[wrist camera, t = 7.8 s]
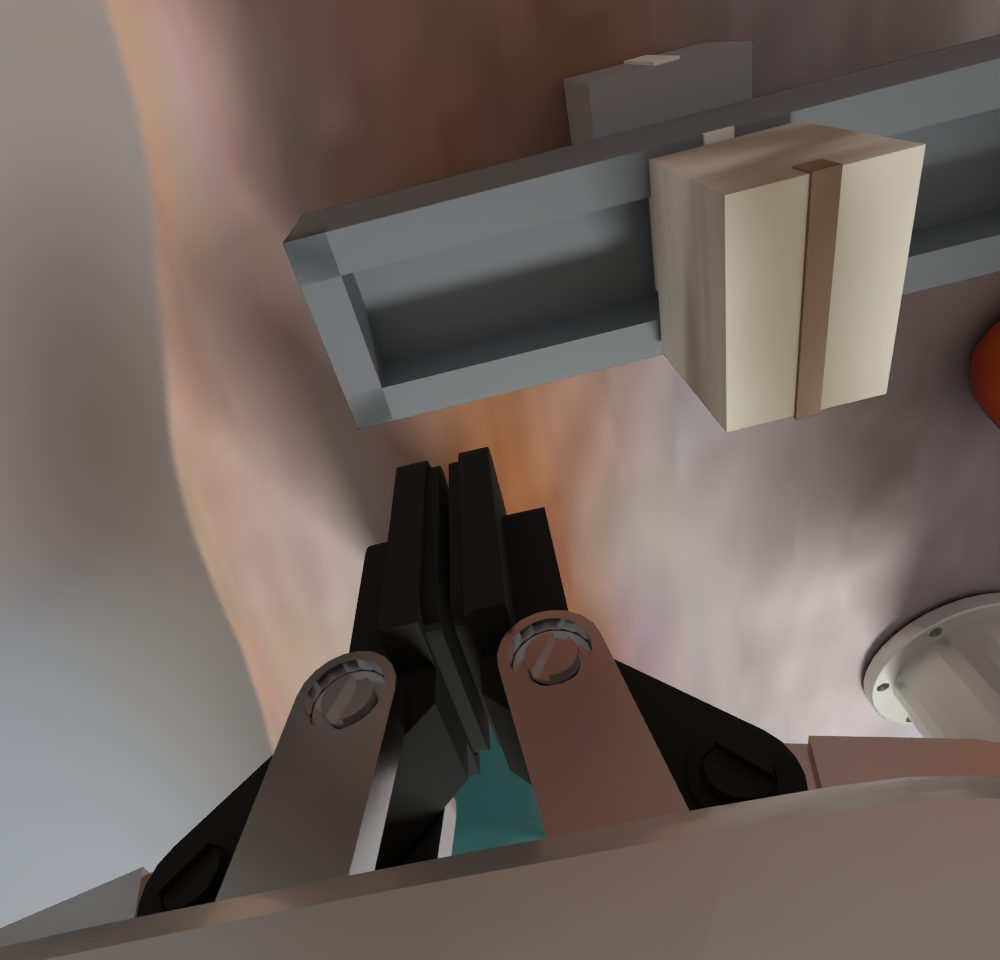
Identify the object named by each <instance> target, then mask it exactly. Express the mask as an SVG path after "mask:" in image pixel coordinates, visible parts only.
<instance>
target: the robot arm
mask: <svg viewBox="0 0 1000 960" xmlns="http://www.w3.org/2000/svg"><path fill="white" fill-rule="evenodd" d="M458 460H459V462H455V463H450V464H449V488H448V485H447V482H446V479H445V476H444V473H443V470H442V468H441V466H437V467H433V468H431V466H430V464H429V462H428V461H424V462H419V463H415V464H410V465H406V466H402V467H398V468H397V470H396V478H395V486H394V494H393V503H392V511H391V519H390V527H389V535H388V542H385V543H380V544H376V545H371V546H369V547H368V548H367V551H366V554H365V560H364V566H363V572H362V578H361V584H360V590H359V596H358V602H357V608H356V614H355V620H354V626H353V632H352V639H351V645H350V651H349V653H347V654H343V655H341V656H339V657H337V658H334V659H332V660H330V661H328V662H327V663H325V664H324V665H323V666H321V667H320V668H319V669H317V670H316V671H315V672H314V673H313V674H312V675H311V676H310V677H309V678H308V679H307V680H306V682H305V683H304V684H303V686H302V688H301V689H300V691H299V693H298V695H297V697H296V699H295V701H294V704H293V706H292V709H291V711H290V714H289V716H288V719H287V721H286V724H285V726H284V729H283V732H282V734H281V737H280V739H279V742H278V744H277V747H276V749H275V752H274V754H273V755H272V756H271V757H270V758H269V759H268V760H267V761H266V762H264V763H263V764H262V765H261V766H260V767H259V768H258V769H257V770H256V771H255V772H254V773H253V774H252V775H251V776H249V777H248V778H247V779H246V780H245V781H244V782H243V783H242V784H241V785H240V786H239V787H238V788H237V789H236V790H234V791H233V792H232V793H231V795H229V796H228V797H227V798H226V799H225V800H224V801H223V802H222V803H220V804H219V805H218V806H217V807H216V808H215V809H214V810H213V811H212V812H211V813H210V814H209V815H208V816H207V817H206V818H204V819H203V820H202V821H201V822H200V823H199V824H198V825H197V826H196V827H195V828H194V829H193V830H191V832H189V833H188V834H187V835H186V836H185V837H184V838H183V839H182V840H181V841H180V842H179V843H178V844H177V845H175V846H174V847H173V848H172V850H171V851H170V852H169V853H168V854H167V855H166V856H165V857H164V858H163V860H162V861H161V862H160V863H159V864H158V865H157V867H156V869H155V870H154V872H151V873H149V872H148V871H147V870H146V869H144V868H143V867H142V868H140V869H137V870H135V871H132V872H130V873H128V874H126V875H123V876H121V877H118V878H116V879H114V880H112V881H109V882H107V883H105V884H102V885H100V886H98V887H95V888H93V889H91V890H88V891H86V892H84V893H81V894H79V895H77V896H74V897H72V898H70V899H68V900H65V901H63V902H60V903H58V904H56V905H53V906H51V907H49V908H47V909H44V910H42V911H39V912H37V913H35V914H33V915H30V916H28V917H26V918H23V919H21V920H18V921H16V922H14V923H12V924H9V925H7V926H5V927H2V928H0V960H1000V593H990V594H981V595H976V596H972V597H968V598H963V599H960V600H957V601H955V602H952V603H949V604H946V605H943V606H941V607H939V608H937V609H935V610H933V611H930V612H928V613H926V614H925V615H923V616H921V617H919V618H918V619H916V620H914V621H913V622H911V623H909V624H908V625H907V626H905V627H904V628H903V629H901V630H900V631H899V632H897V633H896V634H895V635H894V636H893V637H892V638H891V639H889V640H888V641H887V642H886V643H885V644H884V645H883V646H882V647H881V649H880V650H879V651H878V652H877V654H876V655H875V656H874V658H873V659H872V661H871V663H870V665H869V667H868V668H867V671H866V674H865V678H864V693H865V695H866V697H867V700H868V701H869V702H870V704H871V705H872V706H873V708H874V709H875V711H876V712H877V713H878V714H879V715H881V716H882V717H883V718H885V719H888V720H890V721H893V722H896V723H901V724H907V725H914V726H915V727H916V728H917V730H918V731H919V733H920V734H921V735H922V737H923V738H899V737H847V736H809V740H808V744H789V743H783V742H782V741H780V740H778V739H777V738H775V737H774V736H772V735H771V734H769V733H767V732H766V731H764V730H762V729H760V728H758V727H756V726H754V725H752V724H750V723H748V722H745V721H743V720H741V719H739V718H737V717H735V716H733V715H731V714H729V713H727V712H724V711H722V710H720V709H718V708H716V707H714V706H712V705H710V704H708V703H705V702H703V701H701V700H699V699H697V698H695V697H693V696H691V695H689V694H687V693H684V692H682V691H680V690H678V689H676V688H674V687H672V686H670V685H668V684H665V683H663V682H661V681H659V680H657V679H655V678H653V677H651V676H649V675H646V674H644V673H642V672H640V671H638V670H636V669H634V668H632V667H630V666H628V665H625V664H623V663H621V662H619V661H617V660H615V659H613V657H612V655H611V653H610V651H609V649H608V647H607V645H606V643H605V641H604V639H603V637H602V635H601V633H600V631H599V630H598V629H597V628H596V626H595V625H594V624H593V622H591V621H590V620H588V619H587V618H585V617H584V616H582V615H580V614H577V613H573V612H570V611H568V608H567V603H566V599H565V595H564V590H563V586H562V582H561V577H560V573H559V569H558V564H557V560H556V556H555V551H554V547H553V543H552V538H551V534H550V530H549V525H548V521H547V517H546V512H545V508H544V507H542V508H537V509H533V510H528V511H524V512H519V513H515V514H510V515H507V513H506V510H505V506H504V502H503V498H502V495H501V491H500V487H499V483H498V480H497V476H496V472H495V468H494V465H493V461H492V457H491V454H490V450H489V448H488V447H485V448H480V449H476V450H472V451H467V452H463V453H459V455H458ZM489 722H490V725H491V727H492V730H493V733H494V735H495V738H496V741H497V743H498V746H499V747H500V748H502V750H503V752H504V755H505V758H506V761H507V763H508V766H509V769H510V771H512V772H513V773H514V774H516V775H517V776H519V777H520V778H522V779H523V780H525V781H526V782H527V783H529V784H530V785H532V787H533V790H534V794H535V797H536V801H537V804H538V808H539V811H540V815H541V818H542V822H543V825H544V829H545V832H546V836H547V838H543V839H537V840H532V841H527V842H521V843H516V844H511V845H505V846H500V847H495V848H490V849H485V850H479V851H474V852H469V853H464V854H459V855H453V856H451V854H452V846H453V838H454V830H455V823H456V801H455V798H454V795H455V794H456V793H457V792H458V791H459V789H460V788H461V787H462V786H463V785H464V783H465V782H466V781H467V780H468V776H473V775H478V774H480V756H479V752H482V751H487V750H490V732H489Z"/></svg>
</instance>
